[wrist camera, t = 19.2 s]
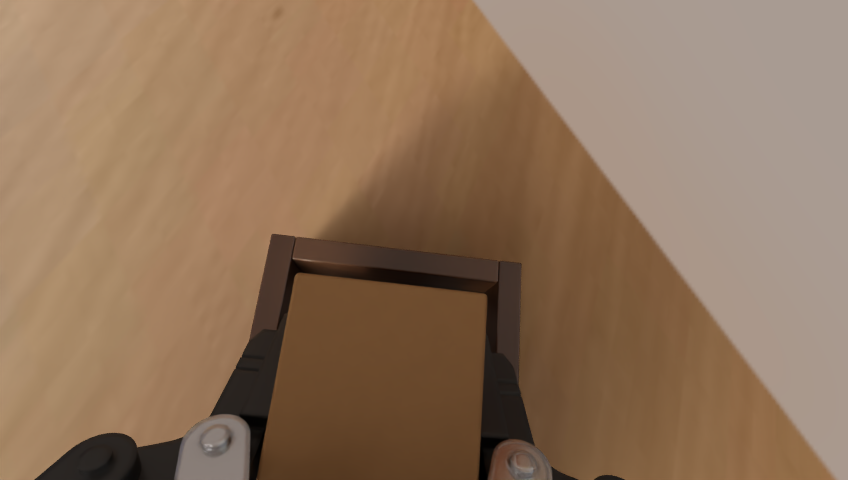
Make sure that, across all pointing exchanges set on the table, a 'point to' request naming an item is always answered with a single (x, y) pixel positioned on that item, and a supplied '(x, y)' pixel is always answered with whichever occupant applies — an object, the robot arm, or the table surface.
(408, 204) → the table surface
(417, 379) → the eraser
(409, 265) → the holder
